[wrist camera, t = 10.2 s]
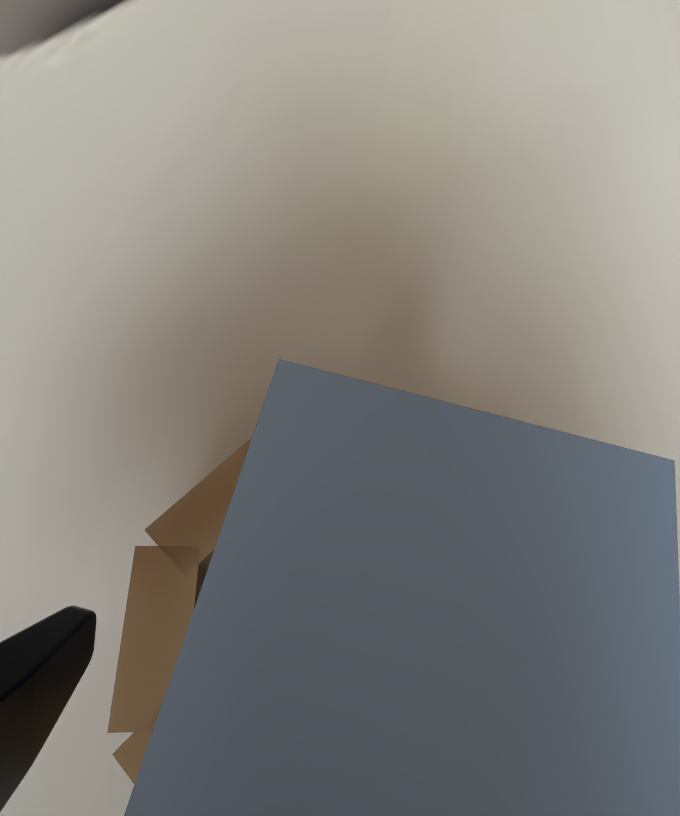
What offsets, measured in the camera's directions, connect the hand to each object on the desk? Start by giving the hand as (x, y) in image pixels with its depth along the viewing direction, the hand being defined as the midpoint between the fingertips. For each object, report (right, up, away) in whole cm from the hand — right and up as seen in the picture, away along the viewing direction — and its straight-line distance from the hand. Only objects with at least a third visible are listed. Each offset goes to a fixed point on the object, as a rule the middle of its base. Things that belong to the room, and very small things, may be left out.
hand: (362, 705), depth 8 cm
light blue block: (0, -2, +8) cm, 8 cm away
